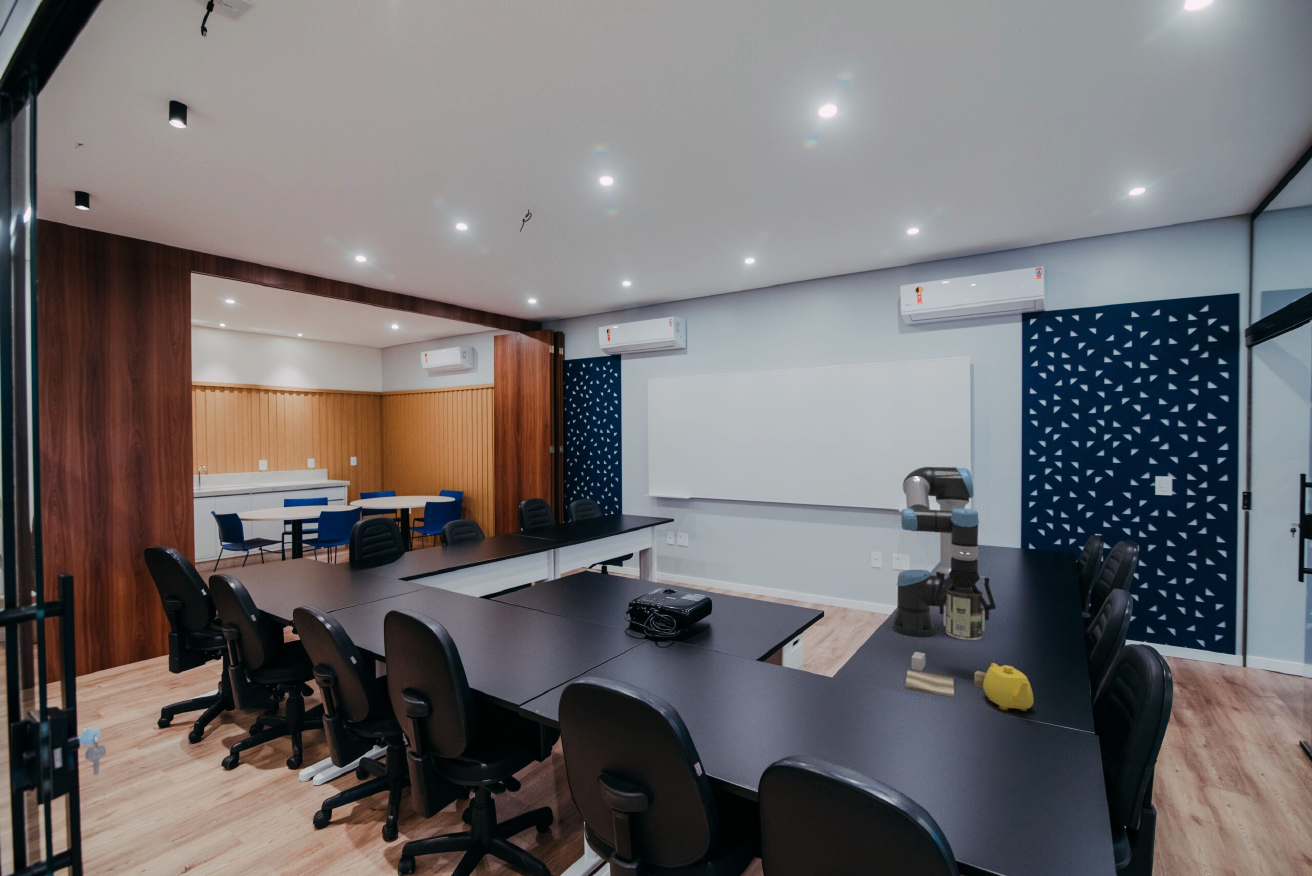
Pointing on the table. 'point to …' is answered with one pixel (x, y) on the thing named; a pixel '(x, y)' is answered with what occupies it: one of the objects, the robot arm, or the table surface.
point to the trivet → (930, 683)
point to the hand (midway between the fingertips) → (963, 627)
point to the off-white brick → (918, 661)
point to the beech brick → (979, 679)
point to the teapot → (1008, 688)
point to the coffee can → (964, 613)
